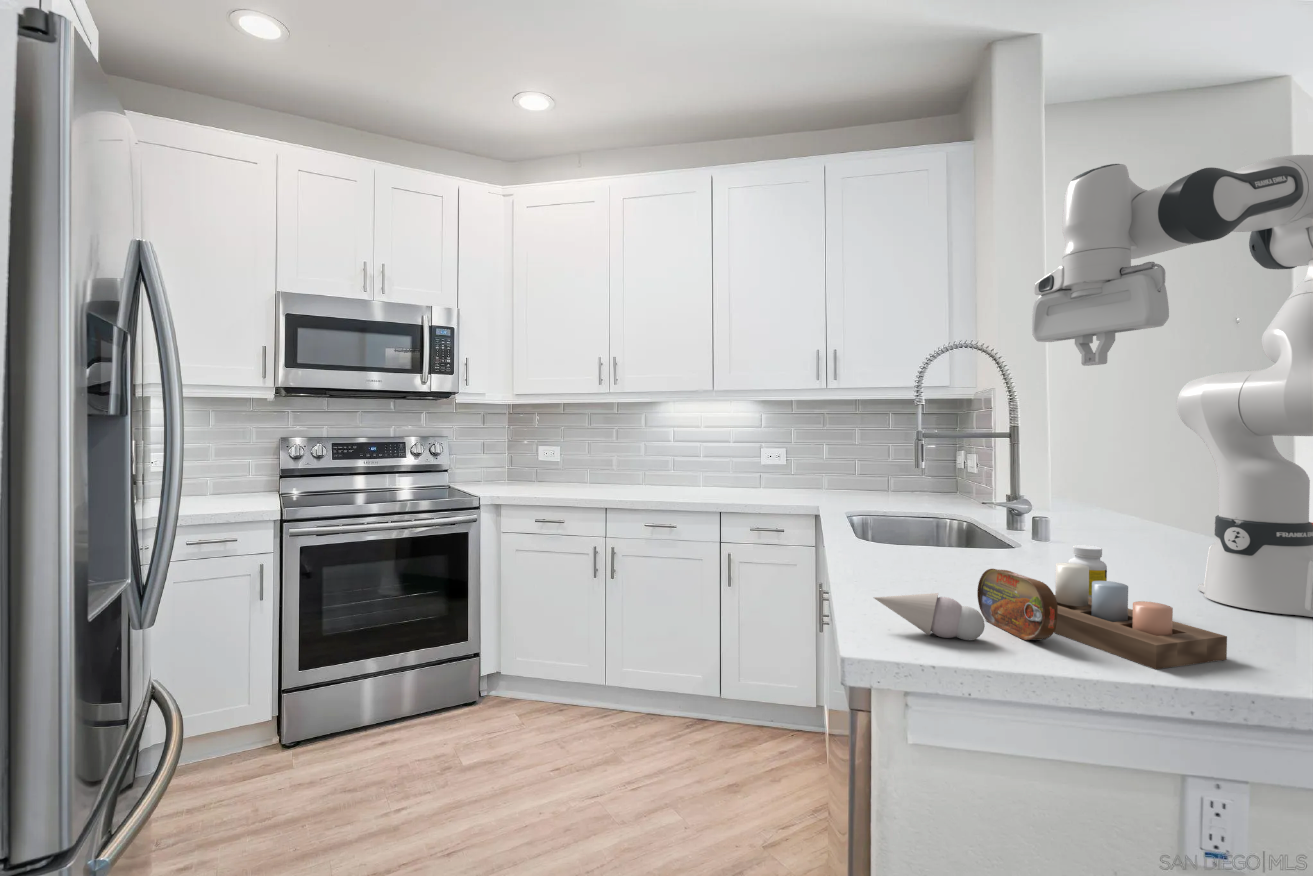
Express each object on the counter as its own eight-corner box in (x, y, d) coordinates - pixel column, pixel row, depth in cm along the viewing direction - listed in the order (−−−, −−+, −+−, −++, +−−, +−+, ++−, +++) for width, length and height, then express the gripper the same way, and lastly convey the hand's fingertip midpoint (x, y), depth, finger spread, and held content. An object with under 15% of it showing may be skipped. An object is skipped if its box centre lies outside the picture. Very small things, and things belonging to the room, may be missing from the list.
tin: (975, 616, 102) (975, 562, 102) (994, 615, 102) (995, 562, 102) (1040, 649, 87) (1041, 586, 87) (1062, 648, 87) (1063, 586, 87)
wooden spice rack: (1073, 611, 104) (1073, 593, 104) (1226, 659, 83) (1226, 636, 83) (1012, 617, 101) (1012, 598, 101) (1155, 669, 80) (1156, 645, 80)
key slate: (1106, 617, 95) (1107, 579, 95) (1135, 626, 91) (1135, 586, 90) (1084, 620, 93) (1084, 581, 93) (1111, 628, 89) (1112, 589, 89)
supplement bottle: (1112, 611, 104) (1113, 550, 104) (1075, 609, 105) (1076, 549, 105) (1097, 602, 110) (1098, 544, 109) (1061, 600, 111) (1062, 543, 111)
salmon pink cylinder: (1147, 640, 89) (1148, 600, 89) (1180, 650, 85) (1180, 608, 85) (1124, 643, 88) (1125, 602, 88) (1155, 653, 84) (1156, 611, 84)
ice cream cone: (868, 624, 97) (978, 656, 91) (867, 607, 93) (983, 640, 86) (877, 588, 100) (984, 616, 94) (877, 570, 96) (990, 598, 89)
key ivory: (1070, 597, 100) (1070, 562, 100) (1095, 604, 96) (1096, 567, 96) (1048, 599, 99) (1049, 563, 99) (1073, 607, 95) (1073, 569, 95)
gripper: (1181, 259, 91) (1179, 359, 91) (1055, 288, 111) (1054, 370, 111) (1147, 256, 89) (1145, 357, 90) (1025, 286, 109) (1024, 369, 109)
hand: (1094, 364), depth 100 cm, fingers closed
